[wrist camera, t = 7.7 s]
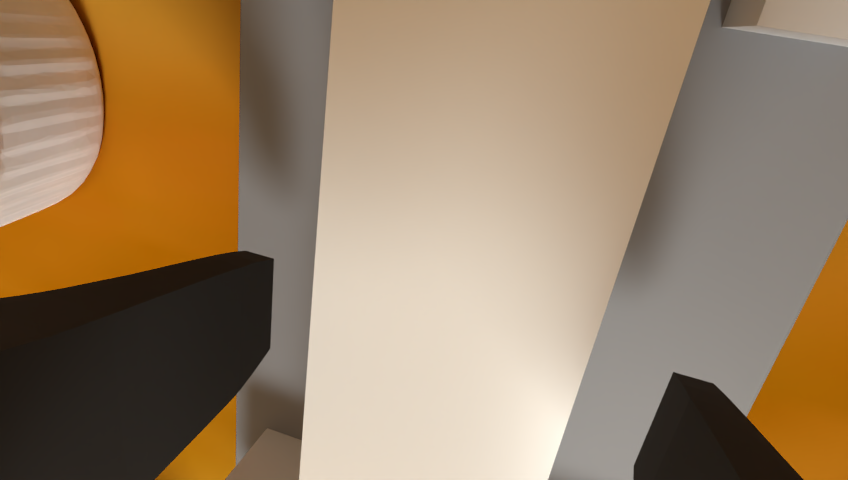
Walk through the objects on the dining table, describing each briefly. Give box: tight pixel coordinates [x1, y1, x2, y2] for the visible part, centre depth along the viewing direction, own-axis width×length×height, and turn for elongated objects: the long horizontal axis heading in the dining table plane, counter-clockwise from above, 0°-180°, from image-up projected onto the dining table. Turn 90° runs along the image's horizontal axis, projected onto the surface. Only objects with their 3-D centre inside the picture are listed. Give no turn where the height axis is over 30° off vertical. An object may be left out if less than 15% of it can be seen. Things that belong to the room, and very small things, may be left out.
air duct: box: [299, 0, 711, 480], centre depth 10 cm, size 21×4×4 cm, turn 171°
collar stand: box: [225, 0, 848, 480], centre depth 11 cm, size 24×12×4 cm, turn 171°
